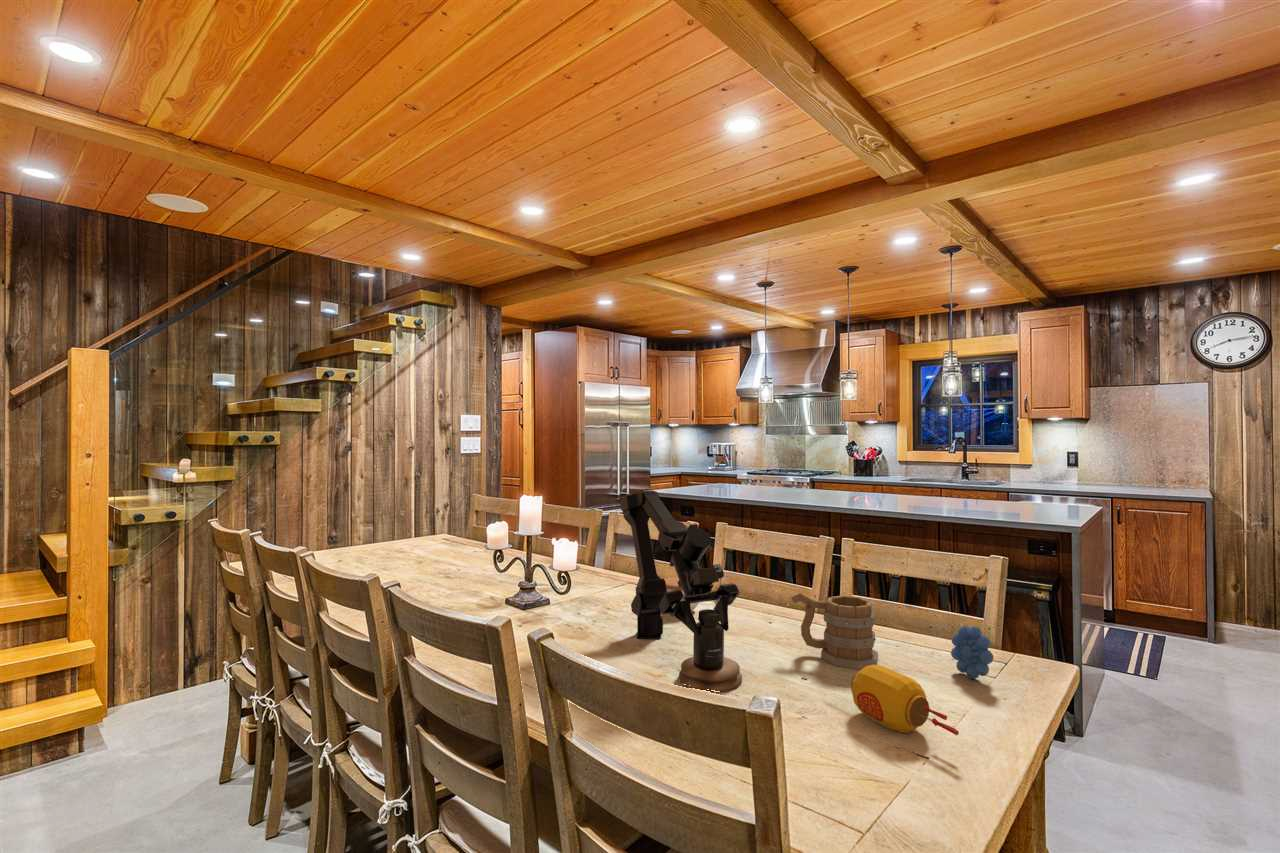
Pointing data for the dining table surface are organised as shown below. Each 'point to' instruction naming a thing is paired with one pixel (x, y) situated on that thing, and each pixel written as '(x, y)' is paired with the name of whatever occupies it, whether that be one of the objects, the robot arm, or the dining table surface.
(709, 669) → the supplement bottle
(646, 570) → the robot arm
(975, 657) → the grapes
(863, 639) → the tankard
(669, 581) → the lidded bowl
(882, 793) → the dining table surface
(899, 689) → the lantern
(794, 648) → the dining table surface
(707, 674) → the pedestal stand
